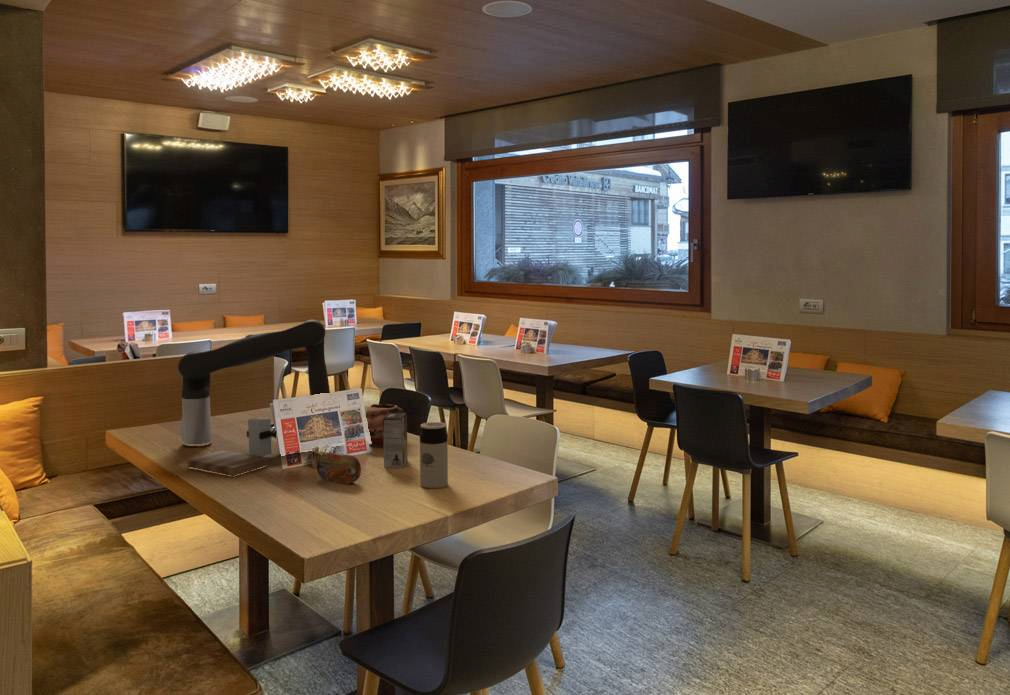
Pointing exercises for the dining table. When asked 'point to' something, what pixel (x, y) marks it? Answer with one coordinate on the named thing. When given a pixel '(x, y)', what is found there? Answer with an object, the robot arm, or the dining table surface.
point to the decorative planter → (379, 421)
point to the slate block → (255, 444)
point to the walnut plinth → (228, 462)
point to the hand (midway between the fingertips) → (253, 435)
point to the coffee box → (395, 440)
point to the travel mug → (433, 455)
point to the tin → (338, 468)
